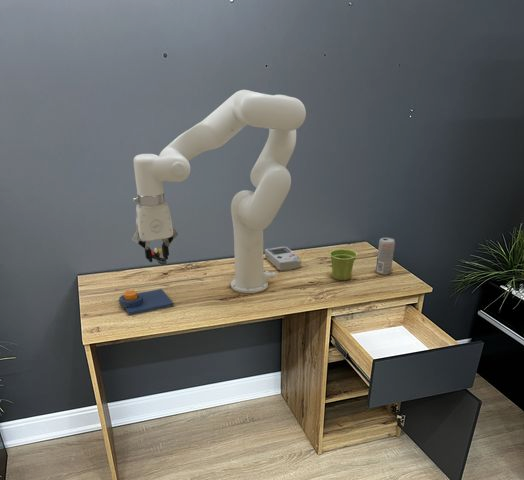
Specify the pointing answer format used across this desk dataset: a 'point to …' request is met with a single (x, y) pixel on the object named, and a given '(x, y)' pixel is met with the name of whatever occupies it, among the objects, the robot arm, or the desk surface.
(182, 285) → the desk surface
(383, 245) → the energy drink
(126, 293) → the power button
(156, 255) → the composite cable
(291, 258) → the handheld gaming device
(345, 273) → the plant pot
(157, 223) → the robot arm
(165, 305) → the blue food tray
